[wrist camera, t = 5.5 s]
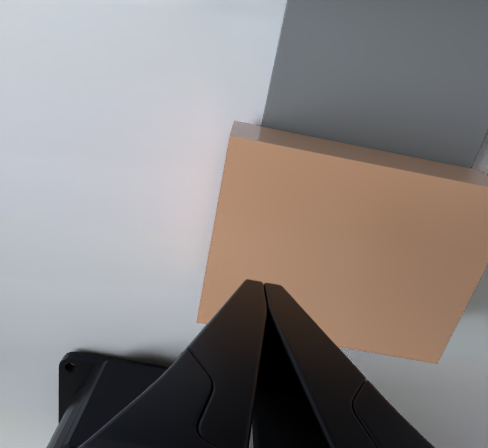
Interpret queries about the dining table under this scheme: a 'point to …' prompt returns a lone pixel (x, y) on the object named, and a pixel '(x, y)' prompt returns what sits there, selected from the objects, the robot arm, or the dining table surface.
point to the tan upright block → (350, 238)
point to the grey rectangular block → (384, 75)
